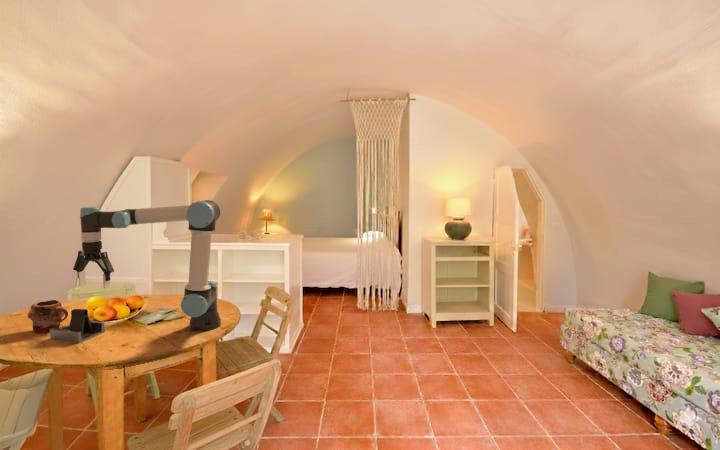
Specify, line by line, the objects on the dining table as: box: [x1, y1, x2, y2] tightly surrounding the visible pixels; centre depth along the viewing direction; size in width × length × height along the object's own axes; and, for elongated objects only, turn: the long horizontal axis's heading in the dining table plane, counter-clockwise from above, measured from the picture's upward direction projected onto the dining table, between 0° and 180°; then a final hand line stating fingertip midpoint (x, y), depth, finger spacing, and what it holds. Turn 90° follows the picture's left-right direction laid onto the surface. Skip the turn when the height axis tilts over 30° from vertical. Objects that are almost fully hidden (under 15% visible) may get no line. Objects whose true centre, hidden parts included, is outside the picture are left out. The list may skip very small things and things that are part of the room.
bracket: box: [49, 320, 106, 344], centre depth 191 cm, size 16×14×5 cm
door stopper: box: [69, 308, 93, 337], centre depth 190 cm, size 9×6×12 cm, turn 177°
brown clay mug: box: [27, 299, 69, 335], centre depth 196 cm, size 20×12×14 cm, turn 89°
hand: (94, 286), depth 186 cm, fingers open, 13 cm apart
